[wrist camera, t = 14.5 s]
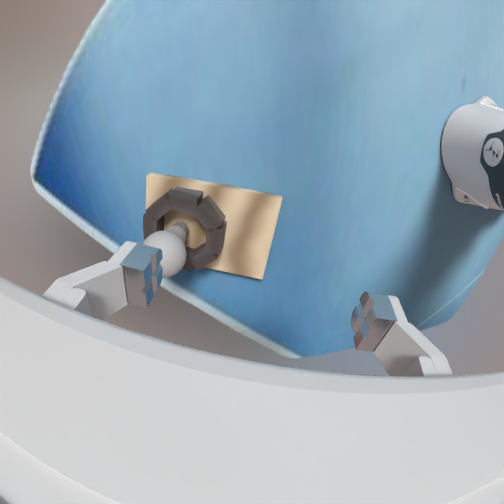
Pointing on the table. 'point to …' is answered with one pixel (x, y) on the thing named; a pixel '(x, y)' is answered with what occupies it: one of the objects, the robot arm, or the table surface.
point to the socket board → (239, 217)
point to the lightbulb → (170, 247)
